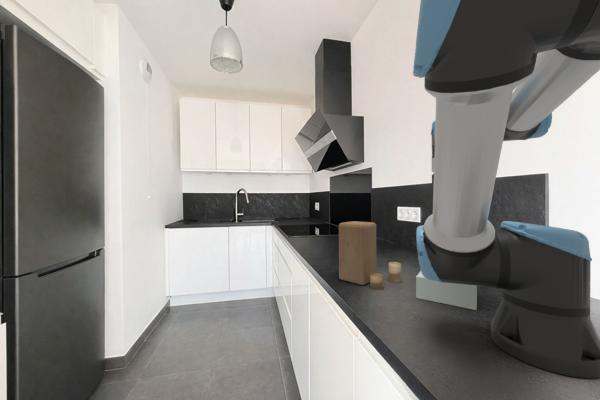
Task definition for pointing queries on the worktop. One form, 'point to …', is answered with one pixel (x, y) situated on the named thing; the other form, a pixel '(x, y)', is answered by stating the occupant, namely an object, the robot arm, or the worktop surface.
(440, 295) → the socket block
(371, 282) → the dowel short
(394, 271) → the dowel mid
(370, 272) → the wooden block
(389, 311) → the worktop surface
